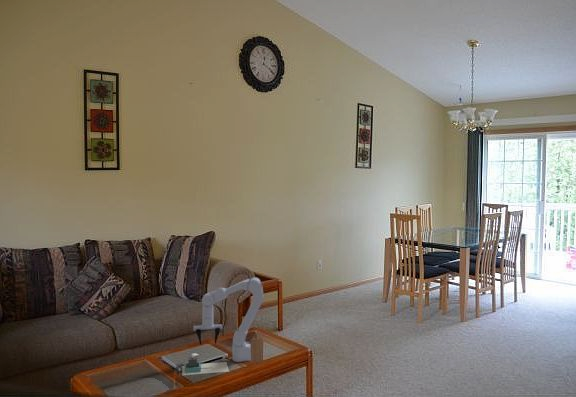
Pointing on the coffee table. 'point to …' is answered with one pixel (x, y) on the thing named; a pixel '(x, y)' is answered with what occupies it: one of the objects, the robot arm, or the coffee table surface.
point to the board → (205, 368)
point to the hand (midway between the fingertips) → (207, 343)
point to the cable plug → (192, 362)
